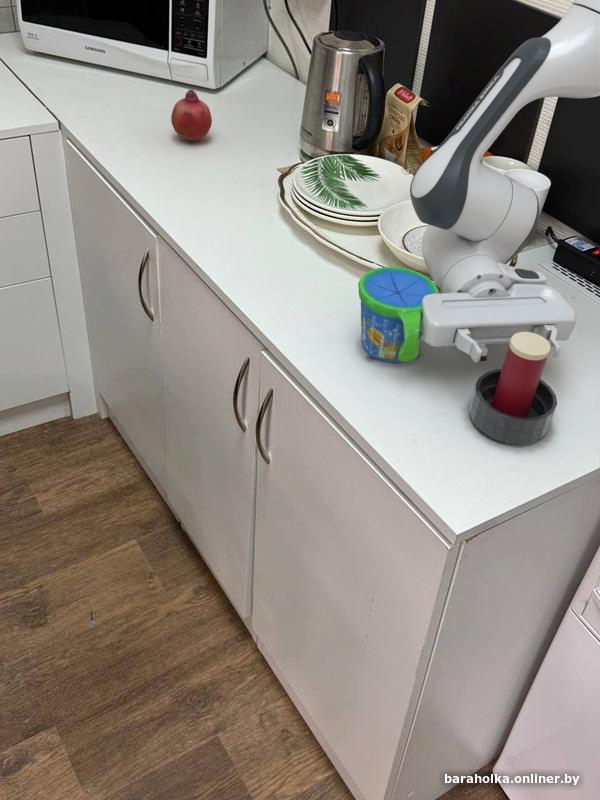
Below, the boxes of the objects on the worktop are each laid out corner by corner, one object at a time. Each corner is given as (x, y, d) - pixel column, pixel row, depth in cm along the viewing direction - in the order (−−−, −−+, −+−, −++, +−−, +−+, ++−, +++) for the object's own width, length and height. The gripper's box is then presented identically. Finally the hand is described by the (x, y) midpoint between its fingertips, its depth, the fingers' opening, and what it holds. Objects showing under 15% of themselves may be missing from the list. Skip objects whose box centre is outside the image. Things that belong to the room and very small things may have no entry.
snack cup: (436, 383, 107) (451, 321, 101) (358, 383, 106) (368, 320, 100) (414, 317, 119) (425, 257, 113) (343, 316, 118) (351, 255, 112)
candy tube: (502, 399, 105) (524, 326, 97) (532, 418, 102) (558, 344, 95) (481, 415, 102) (503, 341, 95) (512, 434, 100) (537, 360, 92)
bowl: (496, 385, 108) (504, 359, 105) (561, 423, 103) (571, 396, 100) (452, 417, 102) (460, 390, 99) (519, 459, 97) (528, 431, 94)
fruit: (212, 133, 166) (213, 84, 160) (210, 149, 160) (210, 98, 154) (173, 131, 166) (172, 81, 159) (170, 146, 160) (168, 96, 153)
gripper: (409, 276, 105) (442, 338, 95) (554, 271, 109) (600, 331, 99) (402, 316, 109) (433, 380, 99) (541, 310, 113) (585, 371, 103)
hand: (518, 355), depth 99 cm, fingers open, 8 cm apart
